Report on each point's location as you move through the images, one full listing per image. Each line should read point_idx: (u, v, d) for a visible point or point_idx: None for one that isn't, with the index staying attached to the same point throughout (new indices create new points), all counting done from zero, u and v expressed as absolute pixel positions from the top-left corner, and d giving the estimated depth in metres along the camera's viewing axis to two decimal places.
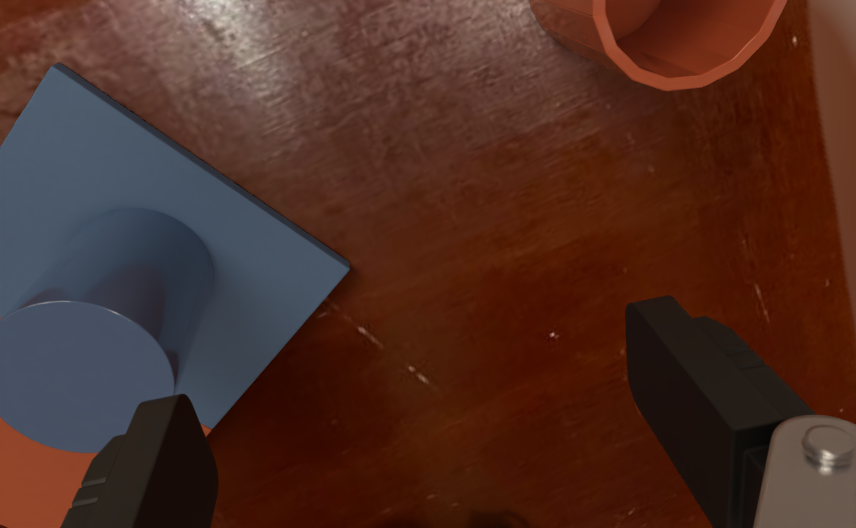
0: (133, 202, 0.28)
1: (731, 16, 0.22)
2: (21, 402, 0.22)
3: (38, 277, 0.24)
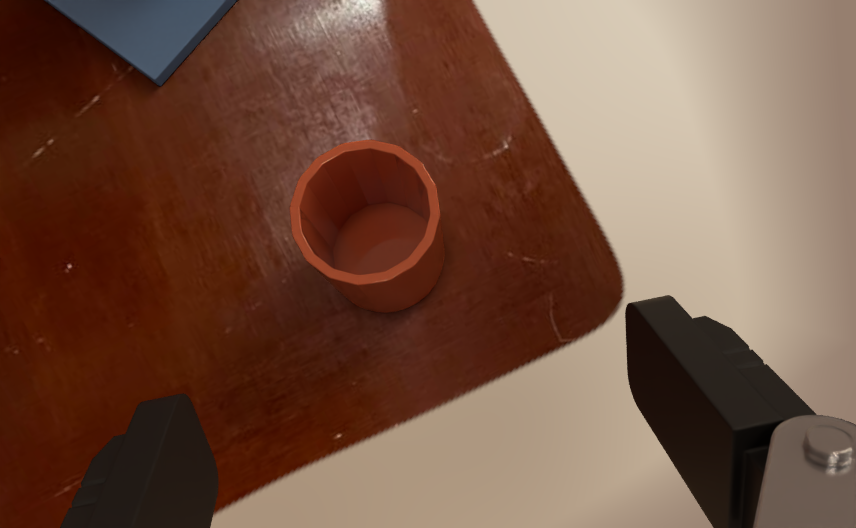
0: None
1: None
2: None
3: None
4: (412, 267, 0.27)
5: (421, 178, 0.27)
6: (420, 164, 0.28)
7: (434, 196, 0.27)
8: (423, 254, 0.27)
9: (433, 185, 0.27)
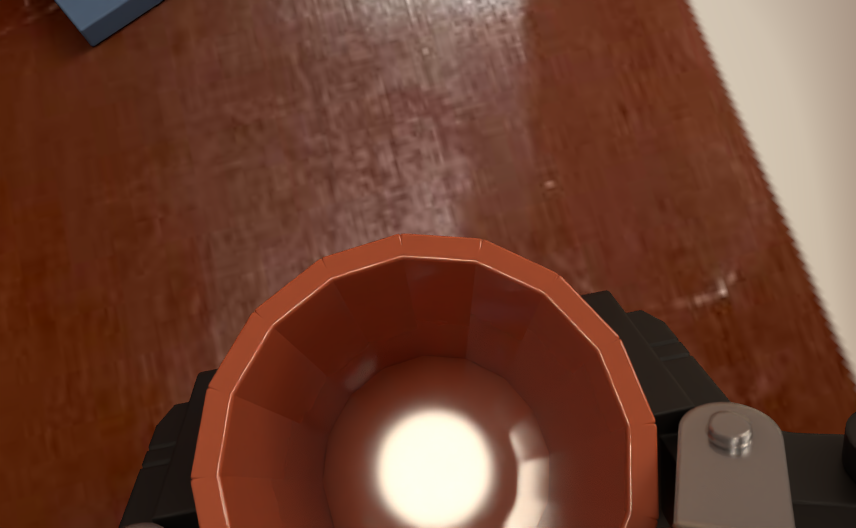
0: None
1: None
2: None
3: None
4: None
5: (614, 388, 0.09)
6: (617, 344, 0.09)
7: (648, 457, 0.09)
8: None
9: (649, 420, 0.09)
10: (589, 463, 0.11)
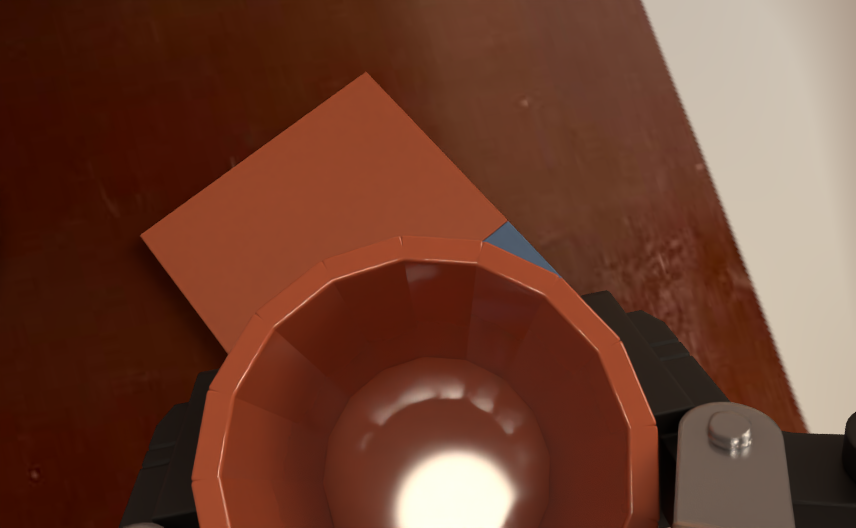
0: None
1: None
2: None
3: None
4: None
5: (615, 390, 0.09)
6: (618, 346, 0.09)
7: (649, 459, 0.09)
8: None
9: (650, 422, 0.09)
10: (590, 465, 0.11)
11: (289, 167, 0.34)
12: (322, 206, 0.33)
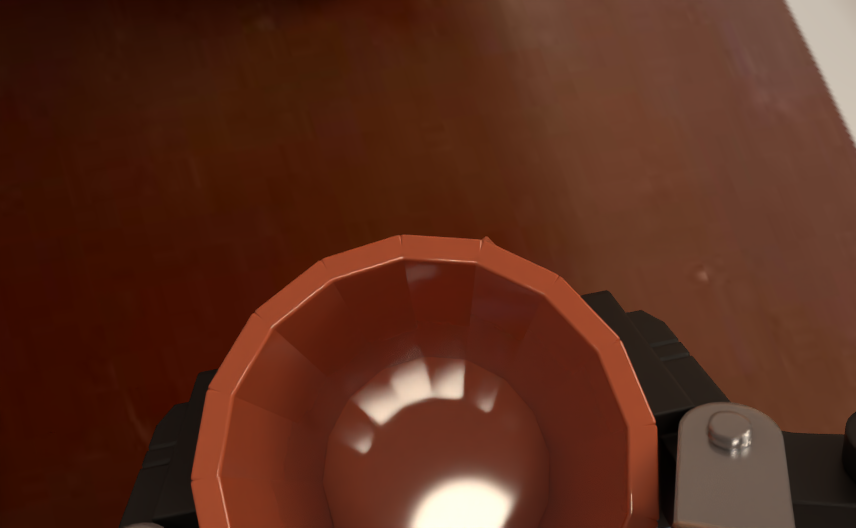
0: None
1: None
2: None
3: None
4: None
5: (615, 389, 0.09)
6: (617, 345, 0.09)
7: (648, 458, 0.09)
8: None
9: (649, 421, 0.09)
10: (589, 464, 0.11)
11: None
12: None
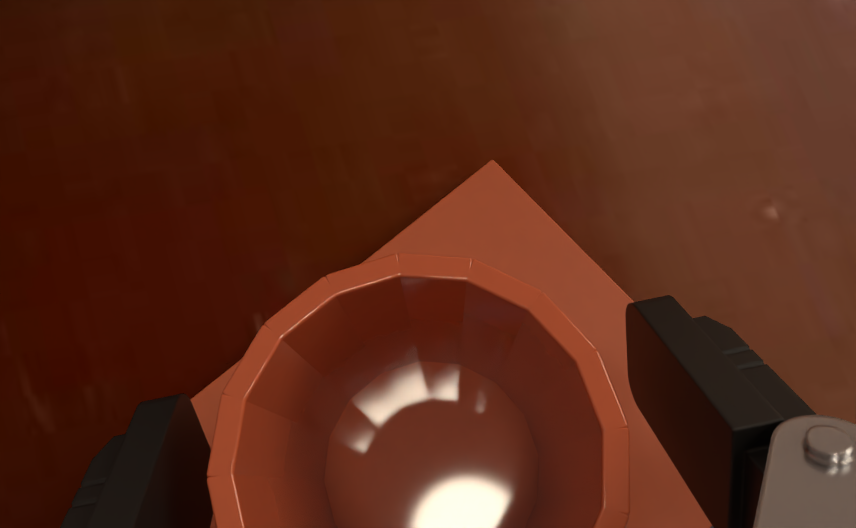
0: None
1: None
2: None
3: None
4: None
5: (591, 395, 0.10)
6: (594, 355, 0.10)
7: (621, 458, 0.10)
8: None
9: (622, 424, 0.10)
10: (571, 463, 0.12)
11: None
12: None
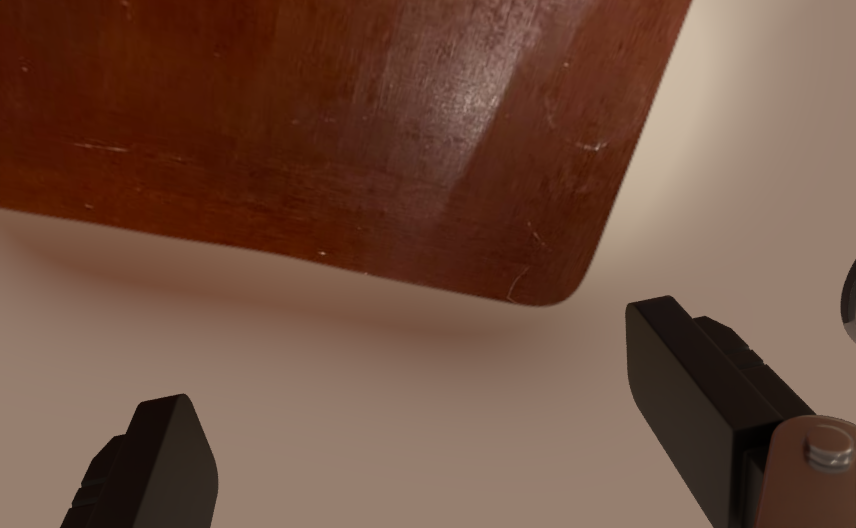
0: None
1: None
2: None
3: None
4: None
5: None
6: None
7: None
8: None
9: None
10: None
11: None
12: None
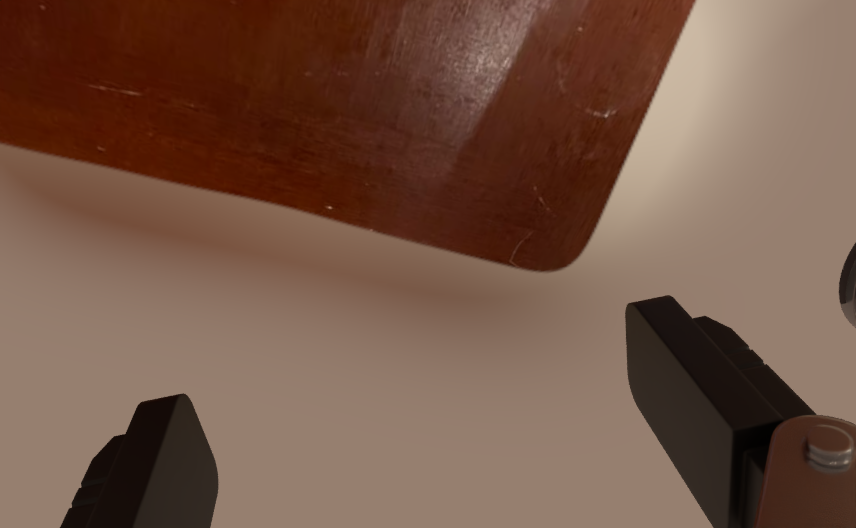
0: None
1: None
2: None
3: None
4: None
5: None
6: None
7: None
8: None
9: None
10: None
11: None
12: None
